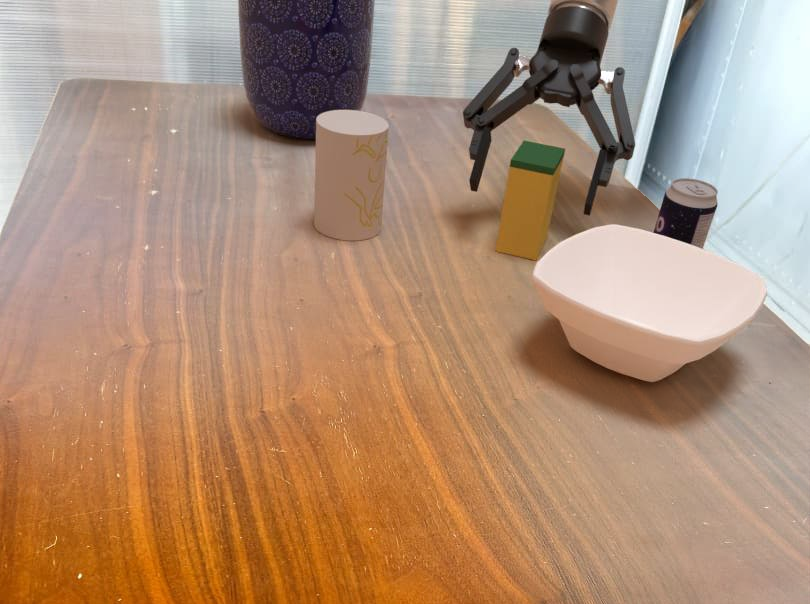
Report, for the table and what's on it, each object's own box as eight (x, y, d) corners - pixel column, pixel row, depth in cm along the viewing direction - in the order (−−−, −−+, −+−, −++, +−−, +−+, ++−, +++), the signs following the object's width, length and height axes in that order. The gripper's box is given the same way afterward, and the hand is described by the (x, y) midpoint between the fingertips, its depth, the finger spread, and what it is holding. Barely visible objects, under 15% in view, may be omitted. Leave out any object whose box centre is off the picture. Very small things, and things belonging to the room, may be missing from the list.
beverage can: (669, 277, 105) (702, 175, 96) (696, 300, 101) (732, 196, 93) (628, 281, 103) (658, 177, 95) (654, 304, 99) (687, 199, 91)
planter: (310, 98, 140) (313, -56, 126) (392, 134, 132) (405, -26, 118) (216, 118, 130) (208, -47, 116) (298, 158, 121) (299, -15, 107)
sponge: (546, 237, 110) (565, 148, 102) (535, 260, 105) (554, 168, 97) (508, 229, 110) (523, 140, 103) (495, 251, 105) (510, 159, 98)
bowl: (759, 354, 93) (790, 279, 87) (680, 439, 80) (711, 358, 74) (587, 286, 101) (605, 213, 95) (491, 353, 88) (505, 273, 82)
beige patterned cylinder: (356, 247, 103) (362, 140, 95) (300, 226, 106) (301, 121, 97) (393, 225, 108) (402, 122, 100) (339, 206, 111) (343, 104, 103)
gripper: (679, 63, 104) (632, 233, 104) (476, 26, 108) (430, 190, 108) (690, 22, 97) (640, 205, 96) (472, -16, 101) (423, 160, 100)
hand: (529, 198), depth 102 cm, fingers open, 13 cm apart
